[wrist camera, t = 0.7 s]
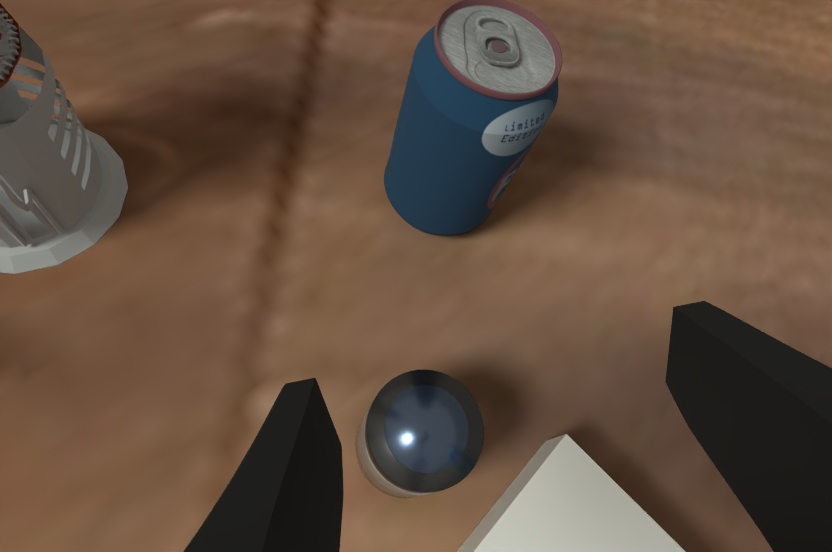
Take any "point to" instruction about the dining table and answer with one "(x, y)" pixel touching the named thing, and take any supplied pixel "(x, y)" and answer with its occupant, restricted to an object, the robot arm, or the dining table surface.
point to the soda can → (470, 113)
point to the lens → (419, 435)
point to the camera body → (566, 510)
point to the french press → (48, 166)
